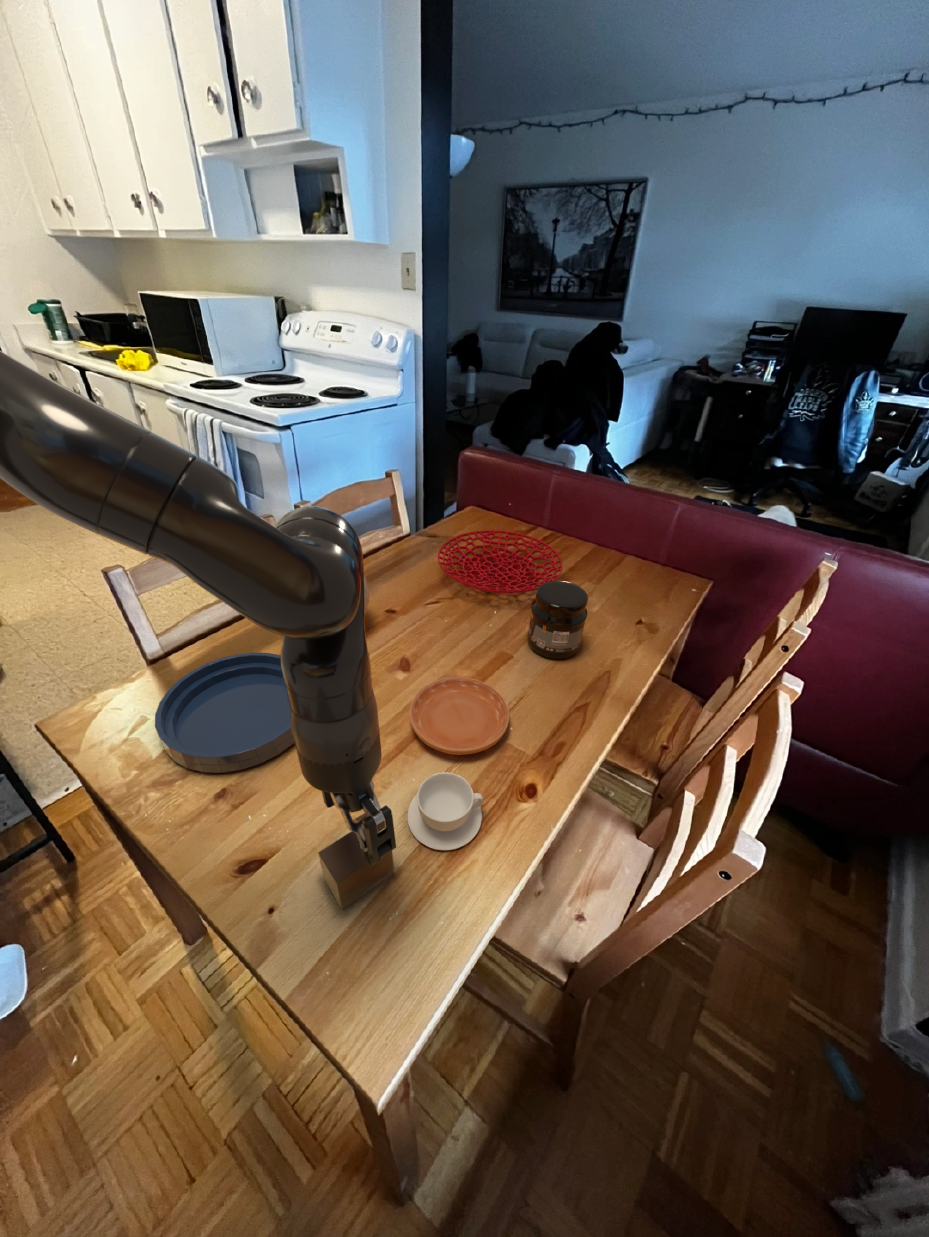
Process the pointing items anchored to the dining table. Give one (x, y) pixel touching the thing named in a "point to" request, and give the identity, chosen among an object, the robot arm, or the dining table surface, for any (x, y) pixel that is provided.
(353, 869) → the dark brown block
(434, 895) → the dining table surface
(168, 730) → the glazed bowl
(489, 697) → the saucer
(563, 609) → the supplement container
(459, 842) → the teacup
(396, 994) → the dining table surface
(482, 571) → the bowl
